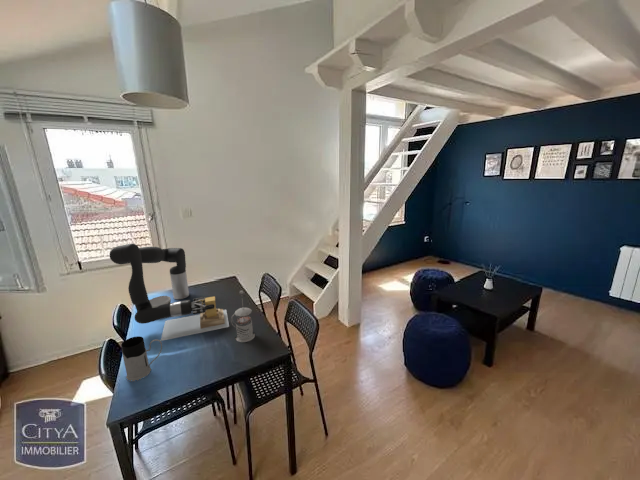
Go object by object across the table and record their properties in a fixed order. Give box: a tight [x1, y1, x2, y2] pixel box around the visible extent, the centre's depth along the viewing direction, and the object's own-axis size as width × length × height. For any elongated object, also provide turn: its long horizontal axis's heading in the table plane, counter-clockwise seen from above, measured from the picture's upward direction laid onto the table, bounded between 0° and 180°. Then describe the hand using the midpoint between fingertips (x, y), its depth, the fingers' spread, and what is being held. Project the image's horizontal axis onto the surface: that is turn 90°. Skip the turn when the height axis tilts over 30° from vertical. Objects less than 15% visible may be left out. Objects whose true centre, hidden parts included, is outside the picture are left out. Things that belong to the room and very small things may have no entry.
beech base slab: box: [199, 308, 225, 328], centre depth 151 cm, size 12×12×4 cm
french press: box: [230, 290, 256, 343], centre depth 136 cm, size 10×12×25 cm
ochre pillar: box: [204, 296, 217, 318], centre depth 150 cm, size 5×5×10 cm
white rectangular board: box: [160, 309, 230, 342], centre depth 149 cm, size 20×32×1 cm, turn 113°
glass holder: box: [120, 336, 163, 382], centre depth 113 cm, size 9×14×15 cm, turn 114°
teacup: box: [149, 295, 172, 308], centre depth 160 cm, size 15×12×8 cm
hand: (213, 302), depth 150 cm, fingers open, 8 cm apart
